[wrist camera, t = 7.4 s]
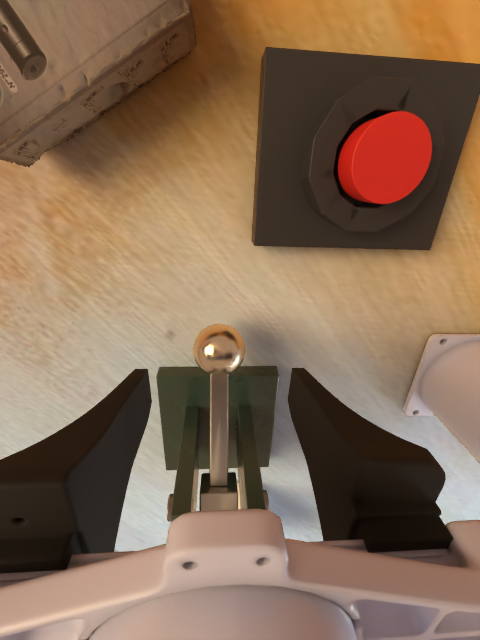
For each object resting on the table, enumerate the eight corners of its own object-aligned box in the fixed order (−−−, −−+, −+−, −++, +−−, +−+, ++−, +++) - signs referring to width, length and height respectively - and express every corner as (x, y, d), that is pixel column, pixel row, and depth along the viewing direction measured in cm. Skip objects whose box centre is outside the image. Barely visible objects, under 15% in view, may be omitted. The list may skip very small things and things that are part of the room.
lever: (195, 323, 19) (190, 323, 16) (242, 323, 20) (247, 323, 16) (194, 512, 19) (189, 550, 16) (242, 510, 19) (247, 546, 16)
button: (418, 121, 14) (444, 113, 12) (397, 202, 15) (418, 205, 14) (344, 116, 13) (361, 108, 12) (331, 200, 15) (344, 202, 13)
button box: (467, 73, 15) (524, 49, 13) (416, 245, 19) (451, 257, 16) (261, 57, 15) (272, 27, 12) (251, 241, 18) (257, 252, 16)
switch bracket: (159, 366, 22) (123, 481, 14) (276, 365, 23) (311, 474, 14) (168, 458, 26) (145, 588, 18) (266, 455, 27) (288, 578, 19)
